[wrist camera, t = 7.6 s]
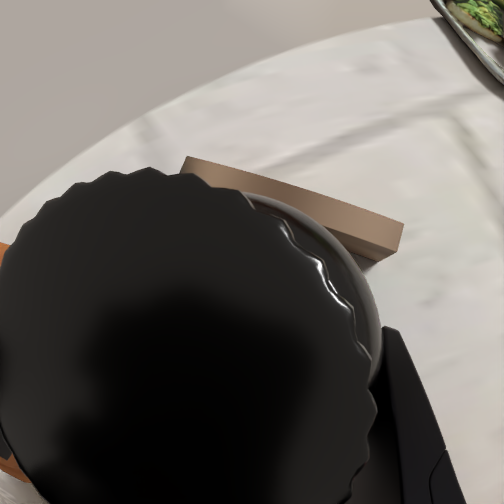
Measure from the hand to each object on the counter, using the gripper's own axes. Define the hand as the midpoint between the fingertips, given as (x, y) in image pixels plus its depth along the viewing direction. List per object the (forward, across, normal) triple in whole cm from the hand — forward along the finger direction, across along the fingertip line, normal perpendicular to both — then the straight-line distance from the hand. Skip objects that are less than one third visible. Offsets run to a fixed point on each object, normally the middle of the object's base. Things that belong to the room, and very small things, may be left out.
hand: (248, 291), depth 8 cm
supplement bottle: (+4, 0, +6) cm, 7 cm away
